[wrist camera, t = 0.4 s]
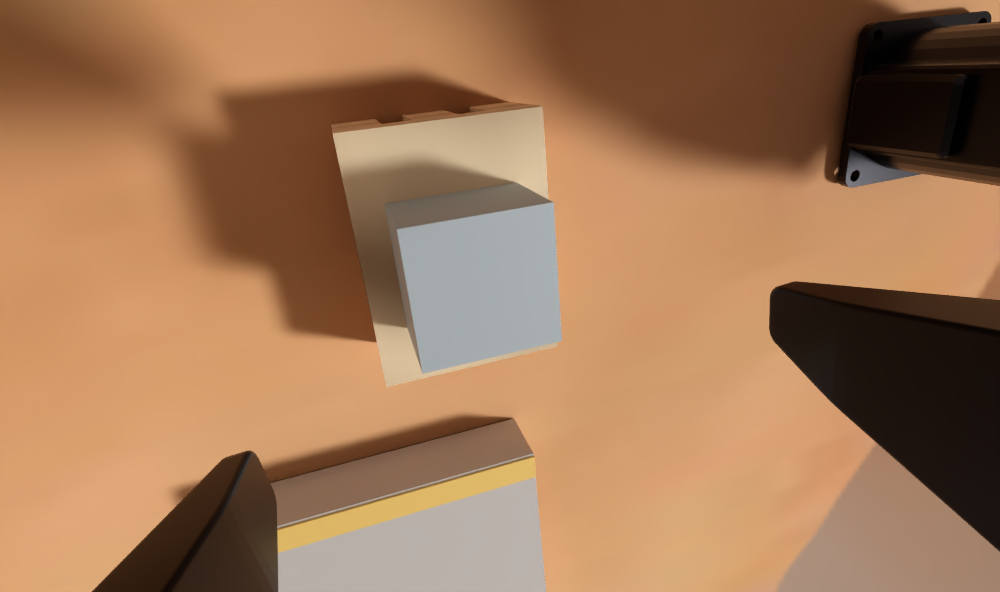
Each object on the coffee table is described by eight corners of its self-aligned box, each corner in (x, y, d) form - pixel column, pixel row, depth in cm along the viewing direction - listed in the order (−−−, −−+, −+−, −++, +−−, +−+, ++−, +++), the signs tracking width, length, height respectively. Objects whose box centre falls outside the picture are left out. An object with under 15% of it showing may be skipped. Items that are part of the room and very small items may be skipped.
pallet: (330, 123, 18) (332, 133, 14) (506, 101, 19) (542, 106, 16) (377, 340, 21) (386, 387, 18) (525, 308, 22) (557, 346, 19)
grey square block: (384, 203, 16) (396, 229, 13) (516, 182, 16) (553, 202, 14) (407, 328, 17) (422, 374, 14) (526, 302, 18) (561, 340, 15)
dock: (513, 418, 24) (534, 454, 21) (533, 607, 28) (552, 653, 26) (247, 489, 21) (237, 539, 19) (317, 683, 26) (317, 742, 24)
